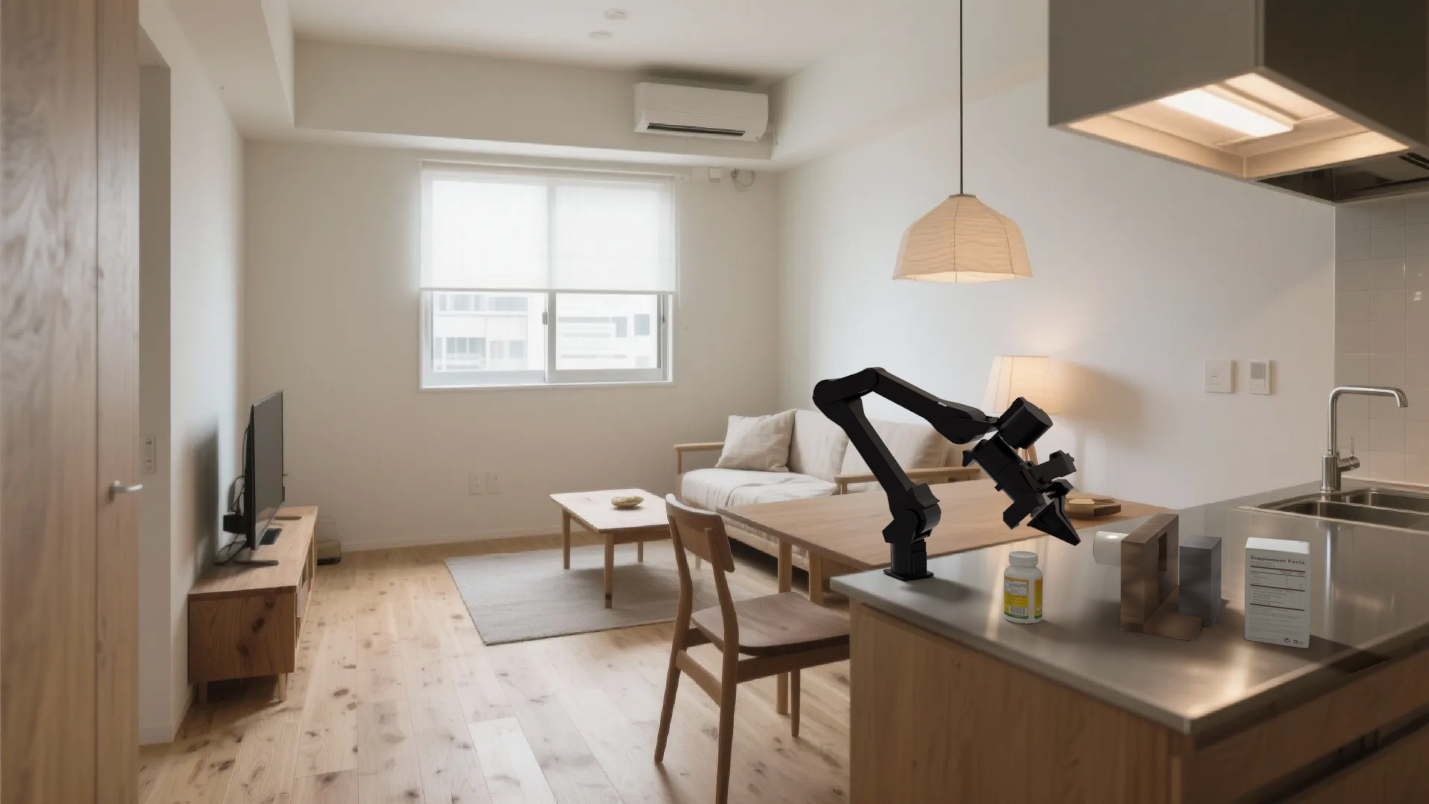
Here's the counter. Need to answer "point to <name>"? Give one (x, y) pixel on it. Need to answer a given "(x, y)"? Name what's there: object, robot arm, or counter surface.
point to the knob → (1108, 548)
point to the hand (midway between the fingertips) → (1078, 543)
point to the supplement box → (1277, 591)
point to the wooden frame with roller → (1169, 580)
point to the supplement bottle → (1023, 588)
